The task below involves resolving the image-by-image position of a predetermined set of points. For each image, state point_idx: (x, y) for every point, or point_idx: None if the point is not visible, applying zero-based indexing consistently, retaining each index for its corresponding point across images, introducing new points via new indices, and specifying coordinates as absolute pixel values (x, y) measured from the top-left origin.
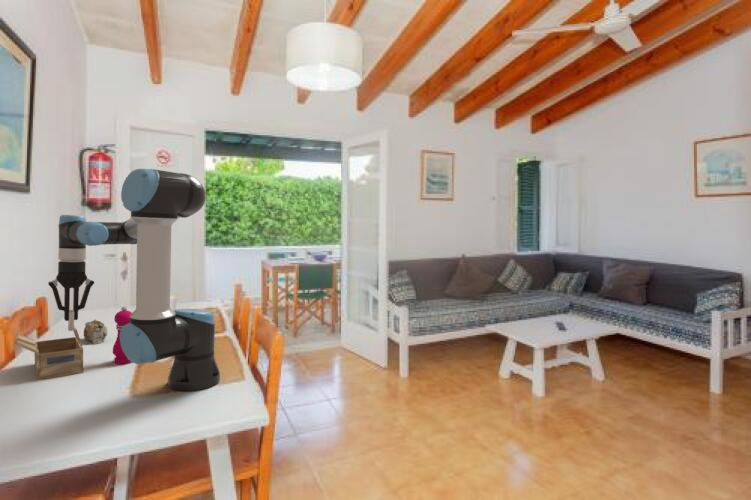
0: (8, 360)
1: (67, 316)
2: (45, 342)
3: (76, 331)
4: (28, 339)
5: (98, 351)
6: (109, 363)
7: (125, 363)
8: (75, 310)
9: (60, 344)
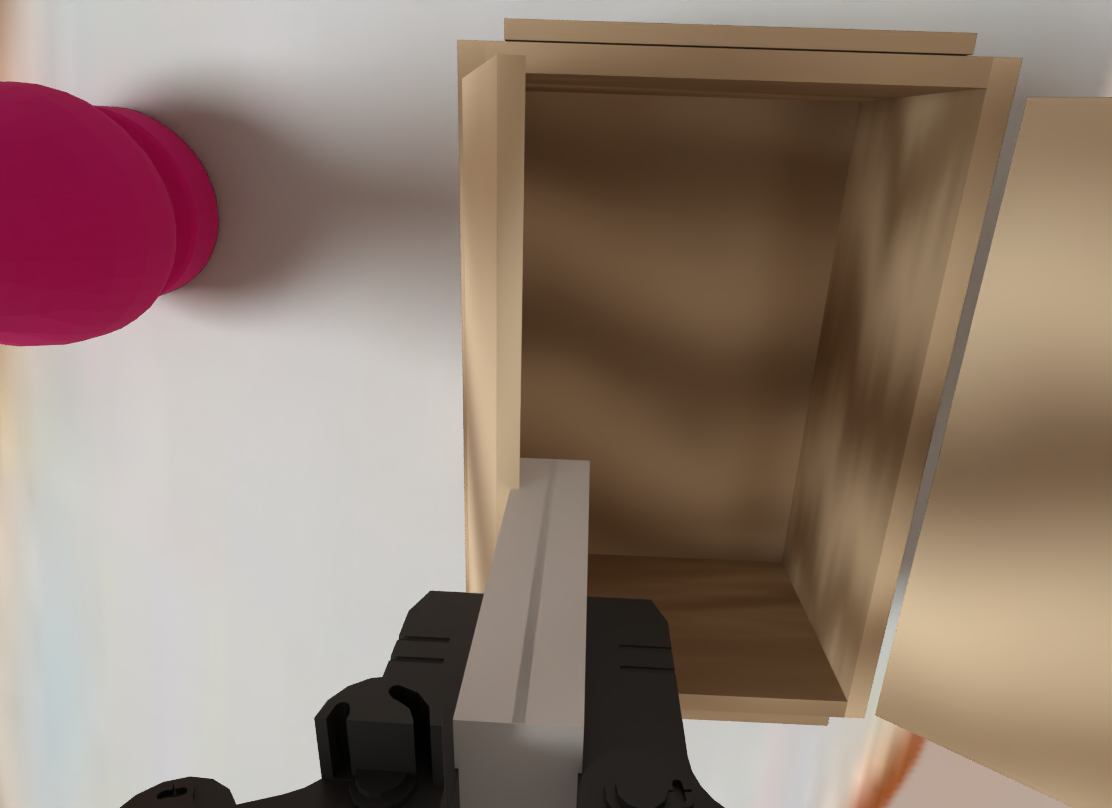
0: (905, 776)
1: (616, 662)
2: (763, 683)
3: (511, 58)
4: (985, 661)
5: (330, 660)
6: (262, 239)
7: (115, 108)
8: (412, 747)
9: None
